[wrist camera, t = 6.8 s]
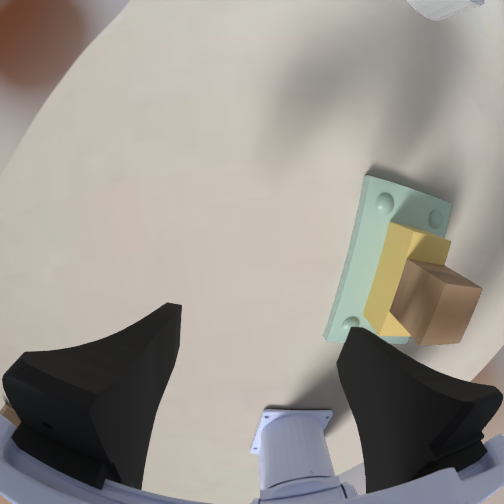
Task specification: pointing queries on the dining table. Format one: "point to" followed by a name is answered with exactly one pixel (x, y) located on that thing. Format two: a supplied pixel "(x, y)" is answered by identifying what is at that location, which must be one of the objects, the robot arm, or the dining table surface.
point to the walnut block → (434, 303)
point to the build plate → (378, 248)
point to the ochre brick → (399, 272)
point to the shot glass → (443, 7)
